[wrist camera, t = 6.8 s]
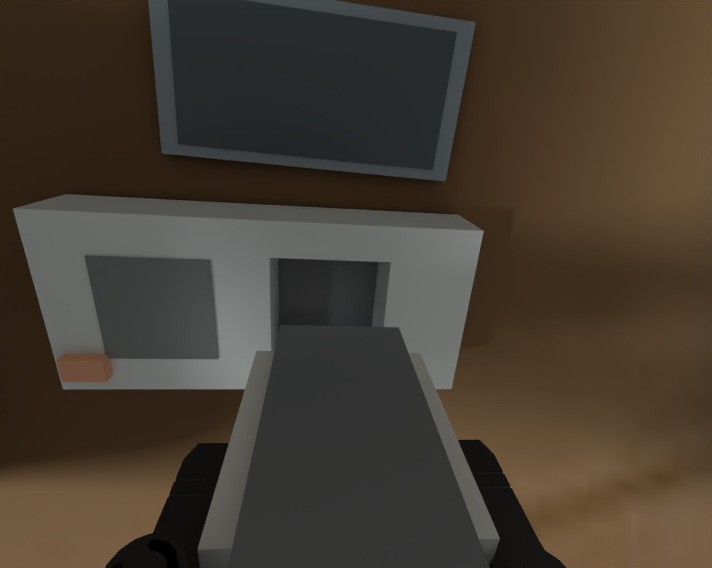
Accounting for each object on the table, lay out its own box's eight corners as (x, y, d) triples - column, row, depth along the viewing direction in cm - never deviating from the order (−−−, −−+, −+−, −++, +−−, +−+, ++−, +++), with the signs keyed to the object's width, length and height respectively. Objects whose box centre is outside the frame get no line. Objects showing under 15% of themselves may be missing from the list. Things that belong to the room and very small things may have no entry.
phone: (439, 178, 20) (445, 181, 20) (169, 152, 19) (161, 153, 18) (468, 27, 18) (476, 21, 17) (155, -21, 16) (144, -30, 15)
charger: (281, 420, 15) (210, 909, 6) (280, 324, 13) (179, 791, 4) (387, 419, 15) (485, 872, 6) (398, 327, 14) (559, 753, 4)
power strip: (100, 350, 22) (55, 397, 18) (66, 194, 18) (1, 211, 15) (433, 354, 24) (454, 396, 20) (458, 214, 21) (488, 234, 17)
